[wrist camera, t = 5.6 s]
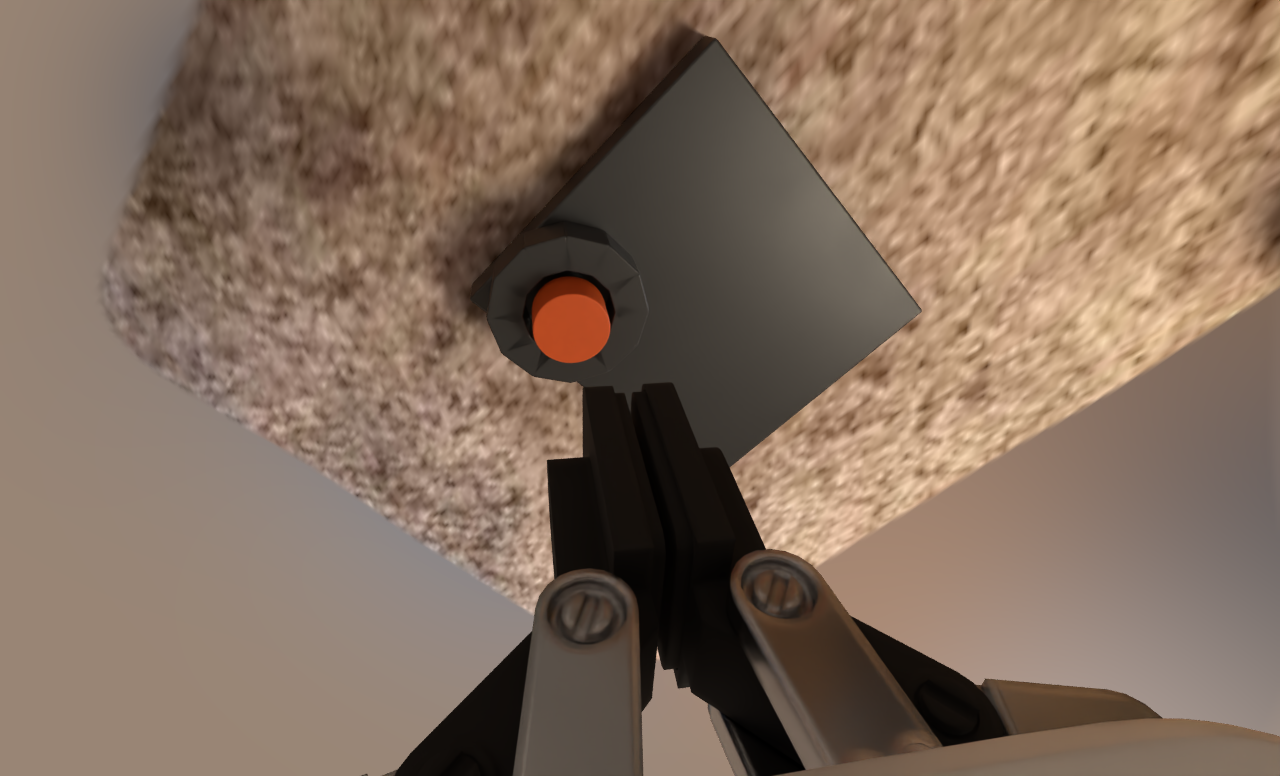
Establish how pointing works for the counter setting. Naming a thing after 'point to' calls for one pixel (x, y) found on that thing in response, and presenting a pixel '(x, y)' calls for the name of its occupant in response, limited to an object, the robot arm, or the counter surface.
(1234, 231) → the counter surface
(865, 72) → the counter surface
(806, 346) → the scale
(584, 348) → the power button
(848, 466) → the counter surface
